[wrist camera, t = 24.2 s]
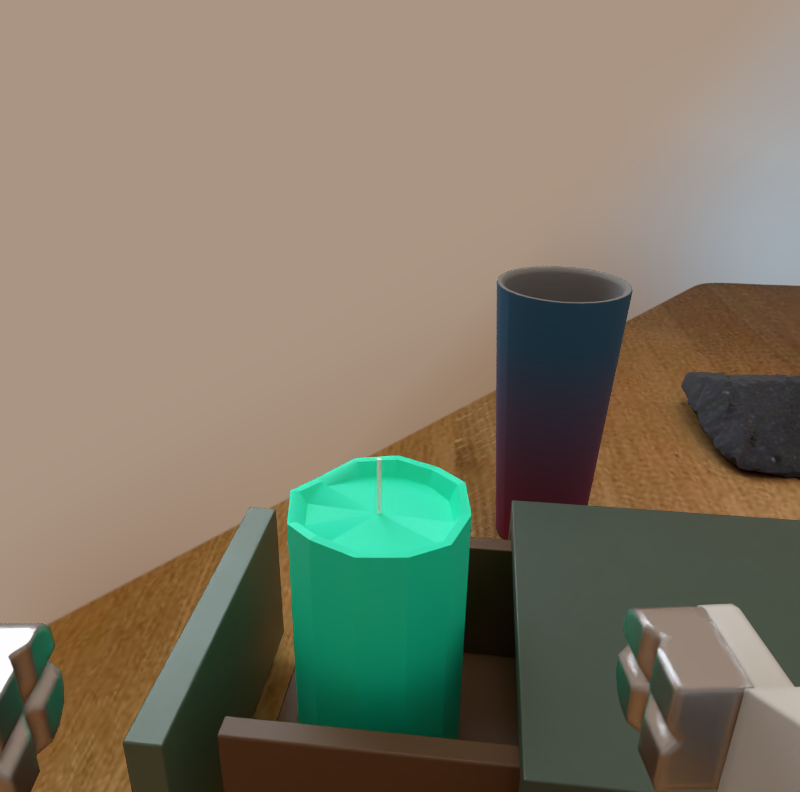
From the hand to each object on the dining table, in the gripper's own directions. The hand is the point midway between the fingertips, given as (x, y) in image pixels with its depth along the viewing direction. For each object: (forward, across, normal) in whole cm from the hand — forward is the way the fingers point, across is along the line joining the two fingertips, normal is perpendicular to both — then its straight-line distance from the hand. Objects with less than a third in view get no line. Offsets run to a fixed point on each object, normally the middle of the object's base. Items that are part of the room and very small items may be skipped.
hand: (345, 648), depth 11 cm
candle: (+12, -1, +16) cm, 20 cm away
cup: (+29, -11, +18) cm, 36 cm away
